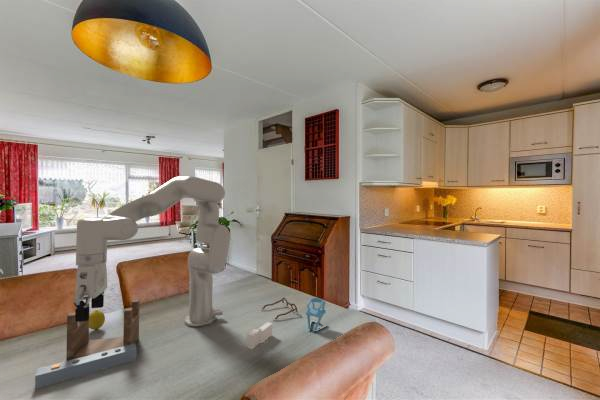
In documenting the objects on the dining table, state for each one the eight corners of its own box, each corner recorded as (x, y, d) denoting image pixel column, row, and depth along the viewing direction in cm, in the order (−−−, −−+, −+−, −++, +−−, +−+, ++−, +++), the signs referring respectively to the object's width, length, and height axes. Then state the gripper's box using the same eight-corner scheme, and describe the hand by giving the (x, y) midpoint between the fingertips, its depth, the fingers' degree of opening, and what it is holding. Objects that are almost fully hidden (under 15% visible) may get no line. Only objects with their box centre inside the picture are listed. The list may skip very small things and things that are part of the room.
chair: (302, 330, 111) (303, 301, 111) (311, 321, 118) (312, 294, 118) (320, 334, 107) (320, 305, 107) (327, 326, 115) (328, 298, 114)
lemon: (95, 334, 103) (95, 313, 103) (83, 332, 104) (83, 312, 104) (108, 327, 109) (108, 308, 108) (96, 326, 110) (97, 306, 110)
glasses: (298, 315, 125) (298, 305, 125) (273, 322, 118) (273, 311, 118) (283, 305, 136) (283, 296, 136) (260, 311, 128) (260, 301, 128)
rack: (138, 339, 101) (139, 299, 101) (129, 354, 91) (130, 310, 91) (82, 345, 96) (82, 303, 96) (66, 362, 86) (67, 315, 86)
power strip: (135, 354, 92) (135, 342, 92) (136, 360, 88) (136, 347, 88) (38, 381, 77) (38, 366, 77) (35, 390, 74) (35, 374, 74)
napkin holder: (272, 331, 110) (272, 317, 110) (282, 346, 99) (282, 330, 99) (235, 339, 103) (235, 324, 103) (241, 355, 93) (242, 339, 93)
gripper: (92, 264, 75) (91, 325, 75) (116, 252, 92) (115, 302, 92) (60, 265, 73) (58, 328, 73) (90, 253, 90) (89, 304, 90)
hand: (90, 313), depth 82 cm, fingers open, 9 cm apart
